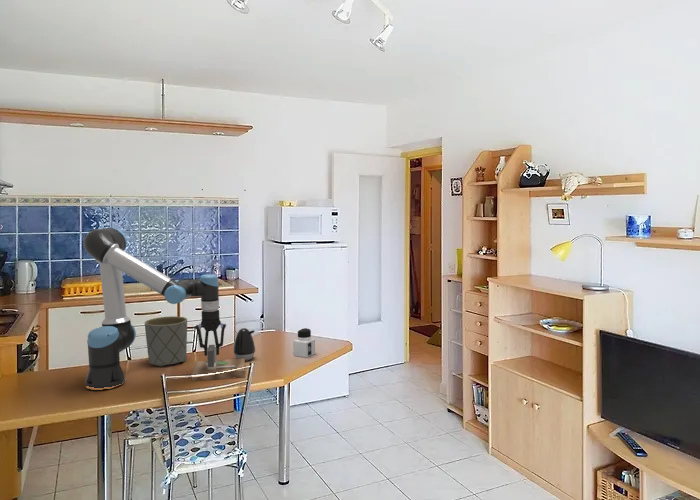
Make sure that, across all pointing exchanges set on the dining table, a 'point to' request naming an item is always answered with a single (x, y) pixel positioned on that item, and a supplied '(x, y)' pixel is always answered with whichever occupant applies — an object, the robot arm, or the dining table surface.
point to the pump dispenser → (244, 344)
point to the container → (304, 343)
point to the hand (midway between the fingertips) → (212, 362)
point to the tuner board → (219, 369)
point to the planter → (166, 340)
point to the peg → (213, 359)
